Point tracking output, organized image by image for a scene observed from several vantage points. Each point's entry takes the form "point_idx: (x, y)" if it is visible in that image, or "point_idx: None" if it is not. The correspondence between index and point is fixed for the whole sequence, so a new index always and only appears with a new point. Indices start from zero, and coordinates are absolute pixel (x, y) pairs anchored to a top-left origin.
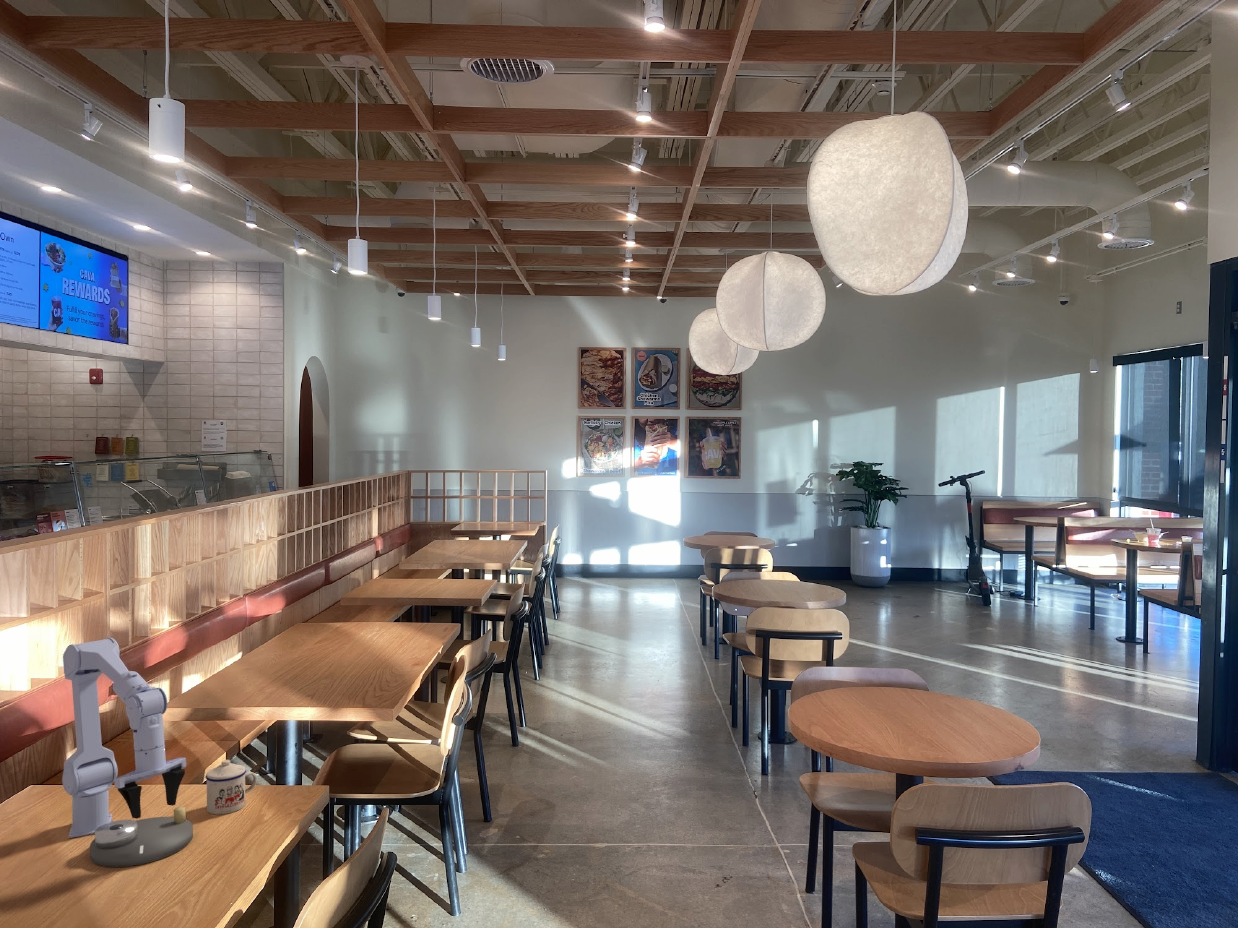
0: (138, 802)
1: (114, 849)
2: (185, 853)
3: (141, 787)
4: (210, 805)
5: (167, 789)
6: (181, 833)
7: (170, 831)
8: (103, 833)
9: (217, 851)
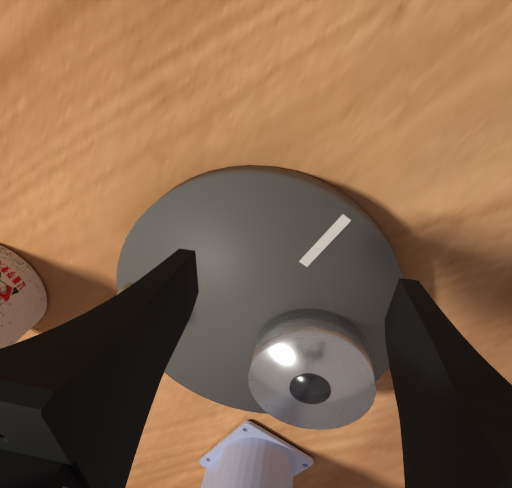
0: (449, 349)
1: (356, 317)
2: (225, 132)
3: (507, 464)
4: (29, 304)
5: (160, 358)
6: (178, 223)
7: None
8: (361, 389)
9: (152, 26)
